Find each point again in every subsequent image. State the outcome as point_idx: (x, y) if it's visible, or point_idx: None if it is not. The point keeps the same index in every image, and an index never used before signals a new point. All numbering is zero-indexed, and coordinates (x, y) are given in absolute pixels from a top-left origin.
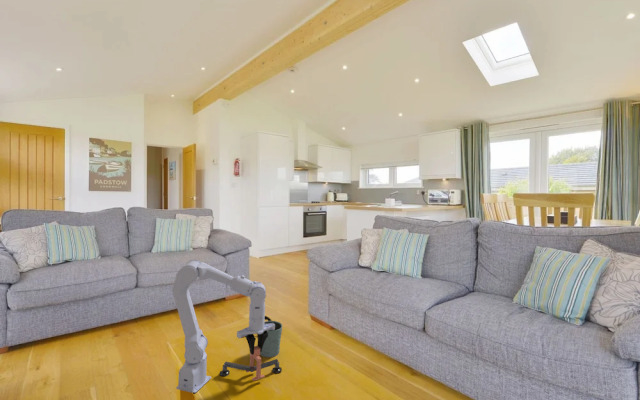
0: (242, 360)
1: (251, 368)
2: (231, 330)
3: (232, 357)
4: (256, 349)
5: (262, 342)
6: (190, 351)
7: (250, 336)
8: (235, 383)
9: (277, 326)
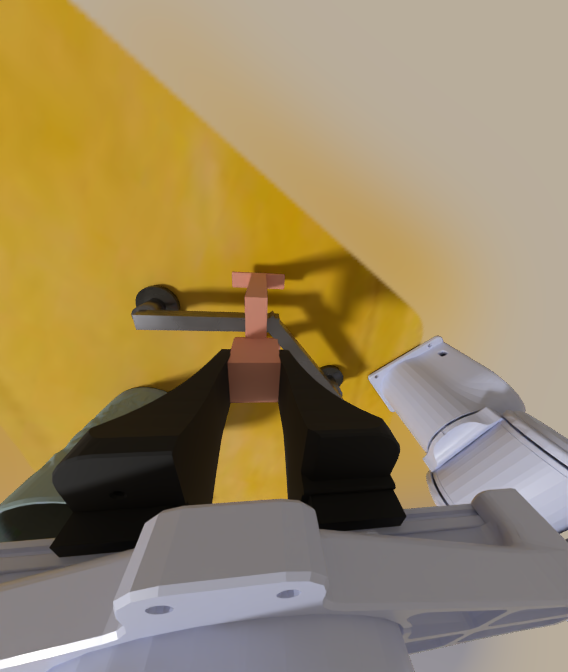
0: (252, 410)
1: (278, 321)
2: None
3: (271, 432)
4: (261, 361)
5: (201, 386)
6: None
7: (356, 485)
8: (326, 317)
9: (38, 523)
